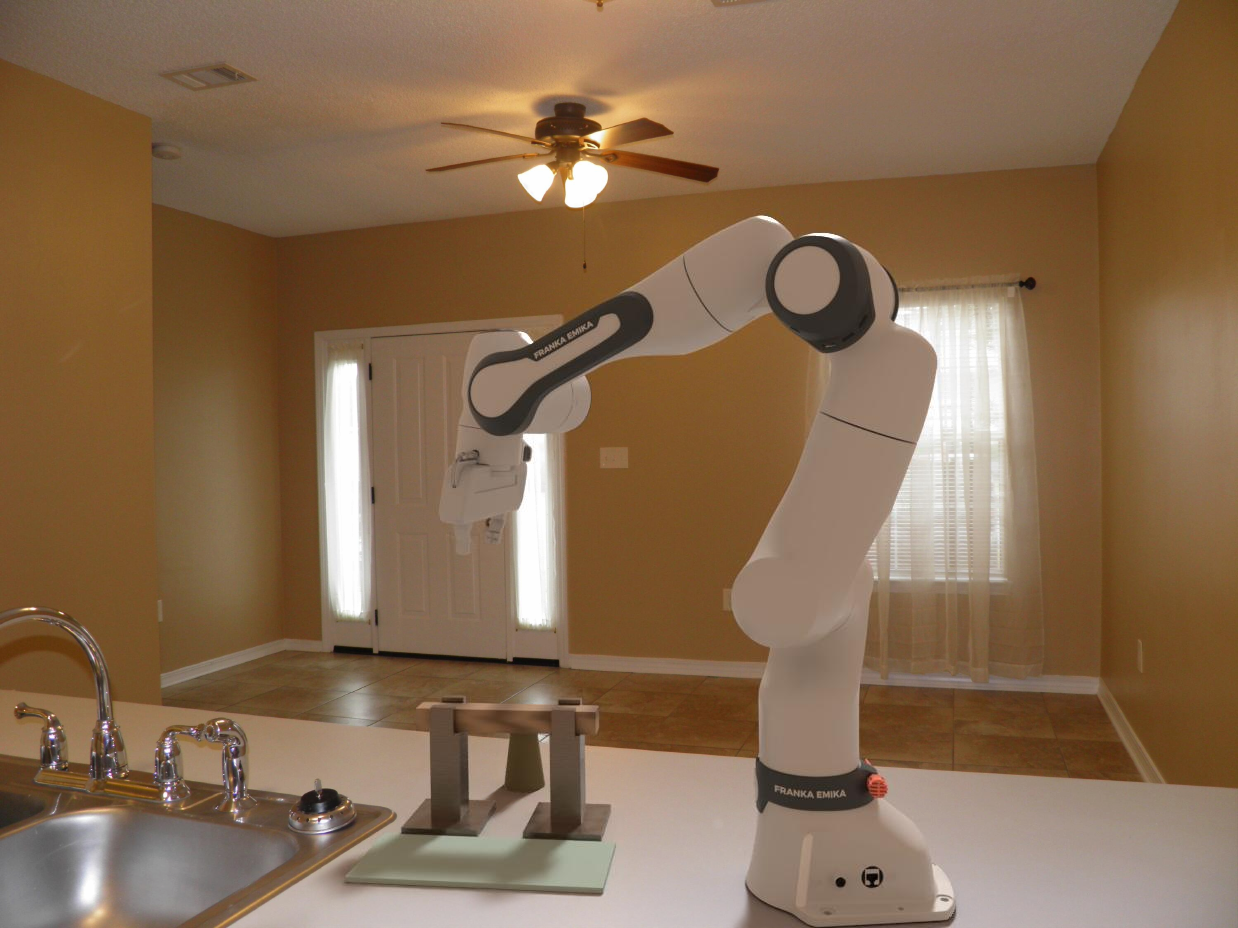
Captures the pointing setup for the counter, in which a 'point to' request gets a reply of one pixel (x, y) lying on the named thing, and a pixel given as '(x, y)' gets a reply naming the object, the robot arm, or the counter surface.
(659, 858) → the counter surface
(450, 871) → the green mat
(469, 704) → the walnut rail
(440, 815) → the cradle posts
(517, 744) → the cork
